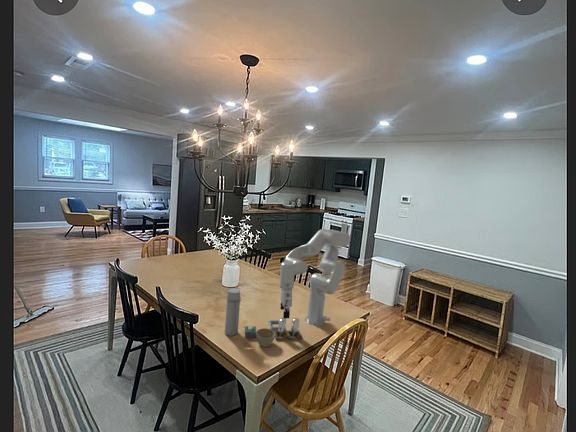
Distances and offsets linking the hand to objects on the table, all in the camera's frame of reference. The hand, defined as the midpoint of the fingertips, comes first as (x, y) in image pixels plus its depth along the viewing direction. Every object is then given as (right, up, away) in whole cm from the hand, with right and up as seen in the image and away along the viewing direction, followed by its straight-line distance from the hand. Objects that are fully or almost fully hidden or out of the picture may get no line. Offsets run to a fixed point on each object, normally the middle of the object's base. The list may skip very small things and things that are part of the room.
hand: (284, 313), depth 169 cm
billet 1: (-2, -13, +1) cm, 13 cm away
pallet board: (+2, -15, +2) cm, 15 cm away
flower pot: (-10, -15, -7) cm, 20 cm away
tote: (-5, -12, +12) cm, 18 cm away
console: (-19, -13, +1) cm, 23 cm away
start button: (-19, -11, +1) cm, 22 cm away
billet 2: (+5, -14, +3) cm, 15 cm away
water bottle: (-29, -12, +2) cm, 32 cm away
